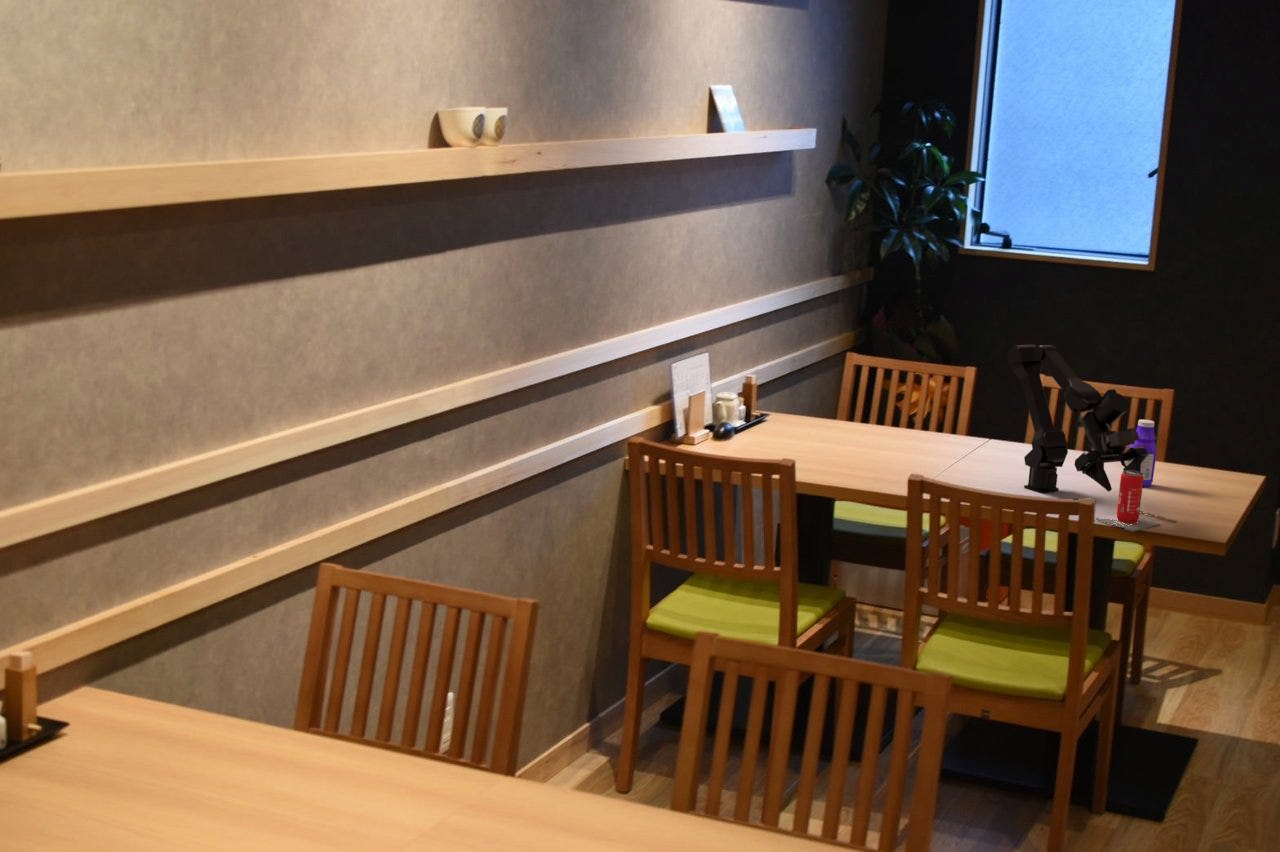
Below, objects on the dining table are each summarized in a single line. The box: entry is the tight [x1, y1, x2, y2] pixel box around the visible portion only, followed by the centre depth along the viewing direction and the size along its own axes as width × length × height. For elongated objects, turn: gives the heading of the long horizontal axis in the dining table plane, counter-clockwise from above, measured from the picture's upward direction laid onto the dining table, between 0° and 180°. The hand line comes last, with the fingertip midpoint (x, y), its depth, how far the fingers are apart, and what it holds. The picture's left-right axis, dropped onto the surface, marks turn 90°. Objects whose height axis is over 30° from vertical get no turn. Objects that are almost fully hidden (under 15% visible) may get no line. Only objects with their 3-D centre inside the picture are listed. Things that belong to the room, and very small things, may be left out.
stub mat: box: [1095, 517, 1161, 533], centre depth 369 cm, size 11×11×1 cm
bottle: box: [1128, 419, 1158, 488], centre depth 404 cm, size 7×6×17 cm
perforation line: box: [1140, 510, 1177, 524], centre depth 376 cm, size 14×1×1 cm, turn 38°
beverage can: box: [1116, 470, 1144, 523], centre depth 368 cm, size 5×5×12 cm
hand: (1125, 489), depth 369 cm, fingers open, 9 cm apart
